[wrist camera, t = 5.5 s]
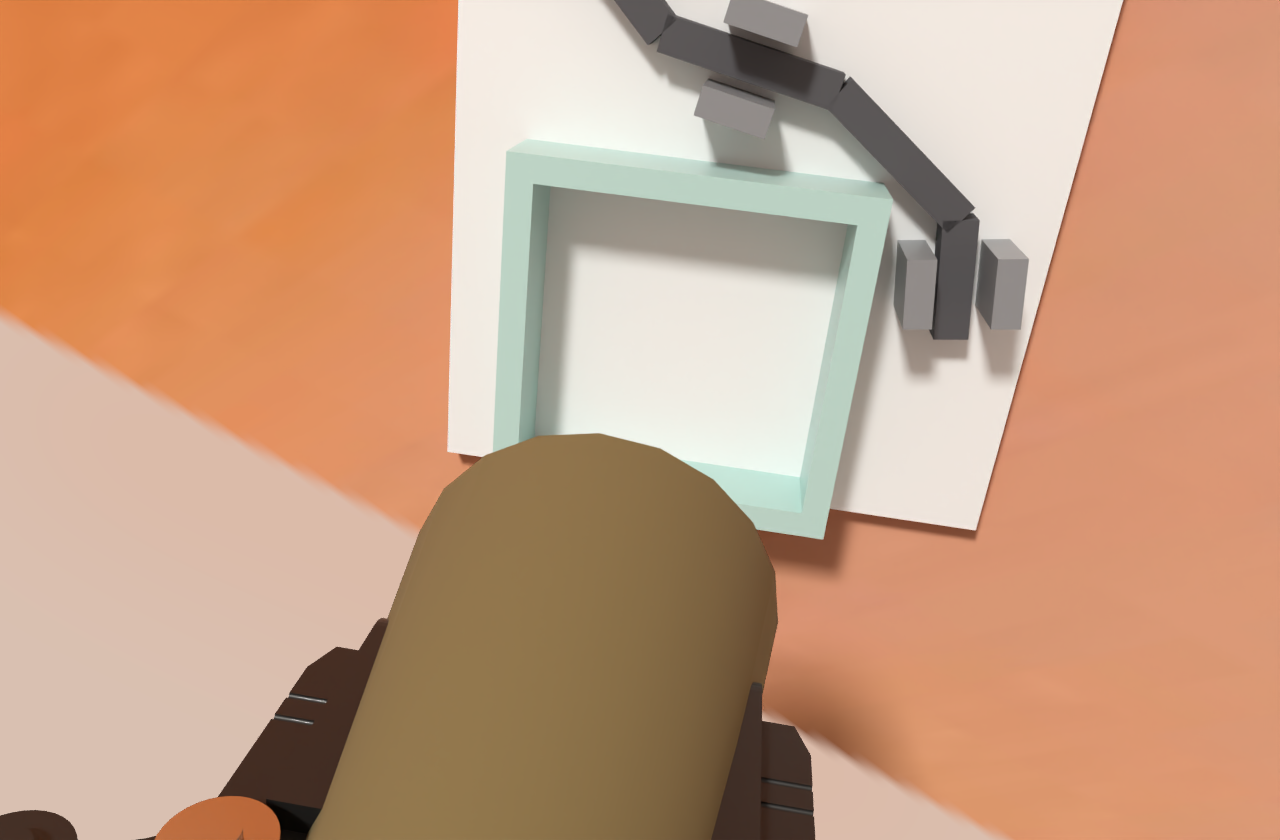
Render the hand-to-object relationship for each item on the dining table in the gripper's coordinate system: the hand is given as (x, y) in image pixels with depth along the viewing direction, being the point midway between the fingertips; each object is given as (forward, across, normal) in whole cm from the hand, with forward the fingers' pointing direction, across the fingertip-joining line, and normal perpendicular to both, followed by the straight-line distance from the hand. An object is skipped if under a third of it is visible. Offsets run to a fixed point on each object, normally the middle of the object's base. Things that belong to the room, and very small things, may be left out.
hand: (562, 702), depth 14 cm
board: (+19, -2, -4) cm, 20 cm away
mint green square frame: (+19, 0, 0) cm, 19 cm away
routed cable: (+19, -2, -6) cm, 20 cm away
